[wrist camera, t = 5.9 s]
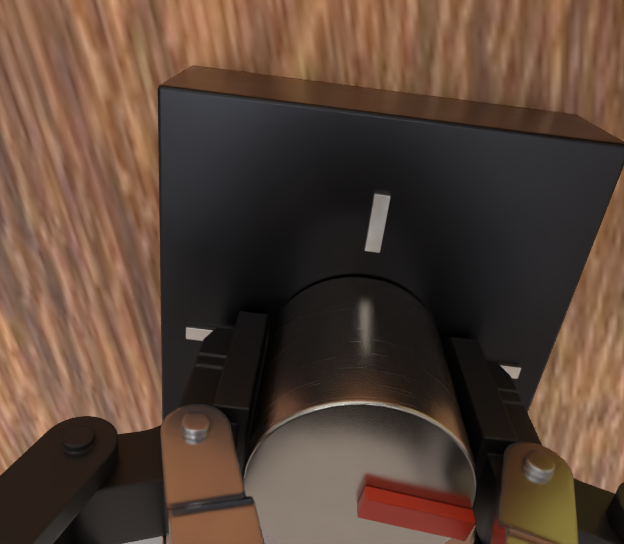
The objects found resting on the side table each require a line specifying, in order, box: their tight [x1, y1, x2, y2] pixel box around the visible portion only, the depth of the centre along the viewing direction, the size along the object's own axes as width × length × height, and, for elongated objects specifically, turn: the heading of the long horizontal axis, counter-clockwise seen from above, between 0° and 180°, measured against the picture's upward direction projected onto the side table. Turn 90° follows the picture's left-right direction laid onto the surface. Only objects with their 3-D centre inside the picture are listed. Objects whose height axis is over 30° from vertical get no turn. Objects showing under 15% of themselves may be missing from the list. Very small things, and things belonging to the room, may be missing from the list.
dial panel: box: [158, 66, 624, 420], centre depth 16 cm, size 12×10×3 cm
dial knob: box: [242, 277, 478, 544], centre depth 12 cm, size 4×4×5 cm
